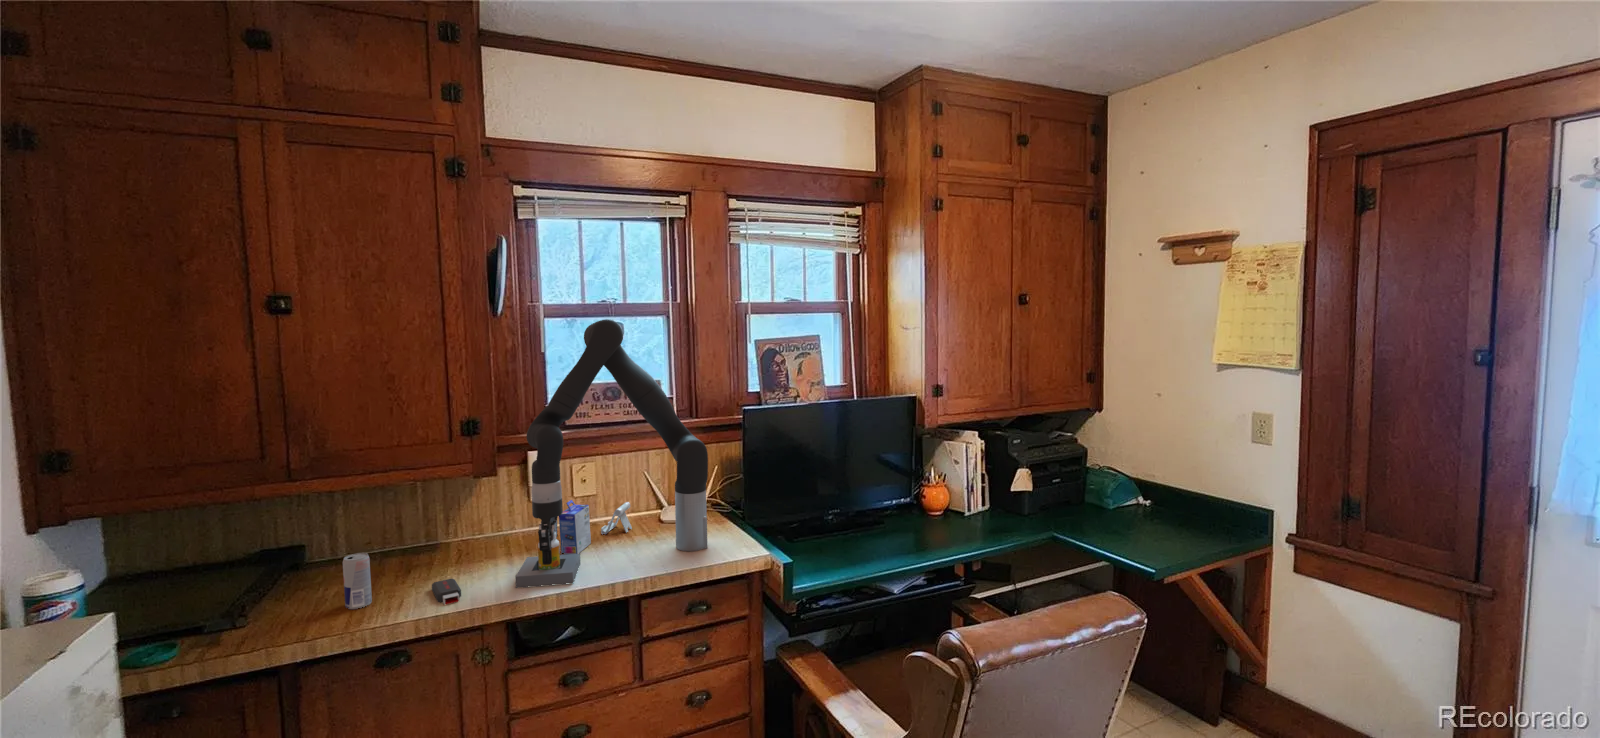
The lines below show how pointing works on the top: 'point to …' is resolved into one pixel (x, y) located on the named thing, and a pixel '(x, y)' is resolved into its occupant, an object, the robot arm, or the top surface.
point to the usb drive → (446, 591)
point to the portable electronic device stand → (622, 515)
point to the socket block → (548, 572)
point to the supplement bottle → (555, 556)
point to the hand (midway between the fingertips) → (549, 559)
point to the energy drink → (357, 580)
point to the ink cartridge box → (574, 528)
